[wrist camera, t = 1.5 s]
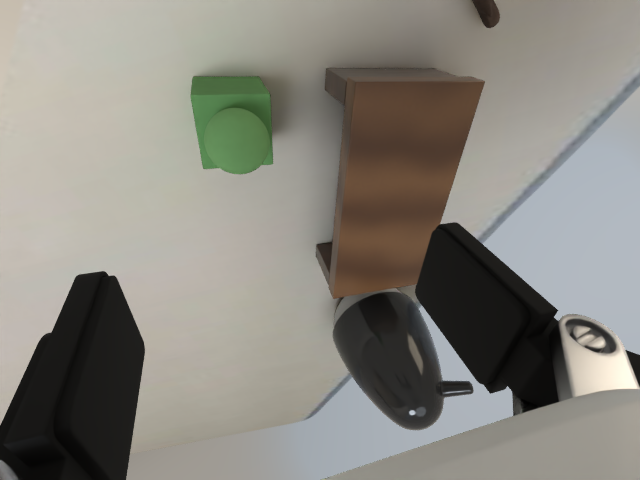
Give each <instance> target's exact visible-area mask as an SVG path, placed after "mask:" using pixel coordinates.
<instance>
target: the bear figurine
mask: <svg viewBox="0 0 640 480" xmlns="http://www.w3.org/2000/svg"><path fill="white" fill-rule="evenodd" d="M472 1H473V3H474V5H475V7H476V9H477V11H478V13H479V15H480V18H481V20H482V22H483V24H484V25H485V26H486V27H487V28H491V27H494V26H495V25H496V24H497V23H498V22H499V19H500V14H499V10H498V8H497V6H496V4H495V2H494V0H472Z"/></svg>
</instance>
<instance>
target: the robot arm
mask: <svg viewBox="0 0 640 480" xmlns="http://www.w3.org/2000/svg"><path fill="white" fill-rule="evenodd" d="M415 293H416V296H417V299H418V300H419V302H420V303H421V304H422V306H423V307H424V308H425V310H426V311H427V313H428V314H429V315H430V316H431V318H432V320H433V321H434V322H435V324H436V325H437V326H438V328H439V329H440V331H441V332H442V333H443V335H444V336H445V337H446V339H447V340H448V342H449V343H450V344H451V346H452V347H453V348H454V350H455V351H456V353H457V354H458V355H459V357H460V358H461V360H462V361H463V362H464V364H465V365H466V366H467V368H468V369H469V370H470V372H471V373H472V375H473V376H474V377H475V379H476V380H477V381H478V382H479V383H480V384H484V386H485V387H486V389H487V390H488V391H489V393H494V392H497V391H501V390H504V389H506V387H507V386H508V387H509V388H510V389H511V391H512V393H513V416H512V417H509V418H506V419H503V420H500V421H497V422H494V423H491V424H488V425H485V426H482V427H479V428H476V429H473V430H469V431H466V432H463V433H460V434H457V435H454V436H451V437H448V438H445V439H442V440H439V441H436V442H433V443H431V444H427V445H424V446H421V447H418V448H415V449H412V450H409V451H406V452H403V453H400V454H397V455H394V456H391V457H388V458H385V459H382V460H379V461H376V462H373V463H370V464H367V465H364V466H361V467H358V468H355V469H352V470H349V471H346V472H343V473H340V474H337V475H334V476H331V477H328V478H325V479H322V480H640V355H638V354H635V353H632V352H629V351H627V350H625V348H624V346H623V344H622V342H621V341H620V339H619V337H618V336H617V335H616V334H615V333H614V332H613V331H612V330H610V329H609V328H608V327H606V326H605V325H603V324H601V323H600V322H598V321H596V320H594V319H591V318H589V317H586V316H582V315H577V314H568V315H565V316H562V318H561V319H560V320H559V321H557V320H556V319H555V318H554V316H555V314H556V313H557V311H558V310H557V309H556V308H555V307H553V306H552V305H551V304H550V303H549V302H548V301H547V300H546V299H544V298H543V297H542V296H541V295H540V294H539V293H538V292H536V291H535V290H534V289H533V288H532V287H531V286H529V285H528V284H527V283H526V282H525V281H524V280H523V279H522V278H520V277H519V276H518V275H517V274H516V273H515V272H514V271H512V270H511V269H510V268H509V267H508V266H507V265H505V264H504V263H503V262H502V261H501V260H500V259H499V258H497V257H496V256H495V255H494V254H493V253H492V252H491V251H489V250H488V249H487V248H486V247H485V246H484V245H483V244H481V243H480V242H479V241H478V240H477V239H476V238H475V237H473V236H472V235H471V234H470V233H469V232H468V231H467V230H465V229H464V228H463V227H462V226H461V225H460V224H458V223H447V224H440V225H438V226H437V227H436V229H435V230H434V231H433V232H432V234H431V237H430V241H429V244H428V248H427V251H426V254H425V258H424V261H423V265H422V268H421V271H420V275H419V278H418V282H417V285H416V289H415ZM144 354H145V347H144V342H143V339H142V337H141V334H140V332H139V330H138V327H137V325H136V323H135V320H134V318H133V315H132V313H131V311H130V308H129V306H128V304H127V301H126V299H125V297H124V294H123V292H122V289H121V287H120V285H119V282H118V280H117V278H116V277H115V276H108V274H107V273H106V272H104V271H102V272H95V273H87V274H80V275H78V276H76V278H75V280H74V282H73V284H72V287H71V289H70V291H69V294H68V296H67V298H66V301H65V303H64V305H63V308H62V310H61V312H60V314H59V317H58V319H57V321H56V324H55V326H54V328H53V331H52V333H47V334H45V335H44V336H43V337H42V338H41V340H40V341H39V343H38V345H37V347H36V349H35V351H34V354H33V356H32V358H31V360H30V362H29V364H28V367H27V369H26V371H25V373H24V375H23V378H22V380H21V382H20V384H19V386H18V388H17V391H16V393H15V395H14V397H13V399H12V401H11V404H10V406H9V408H8V410H7V412H6V415H5V417H4V419H3V421H2V423H1V425H0V480H126V476H127V469H128V462H129V455H130V449H131V442H132V435H133V429H134V422H135V415H136V408H137V402H138V395H139V388H140V382H141V375H142V368H143V361H144Z"/></svg>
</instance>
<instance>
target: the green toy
mask: <svg viewBox="0 0 640 480" xmlns="http://www.w3.org/2000/svg"><path fill="white" fill-rule="evenodd" d="M191 101H192V107H193V113H194V119H195V125H196V130H197V136H198V142H199V148H200V154H201V159H202V165H203V169H212V168H221V169H222V170H224V171H226V172H229V173H233V174H246V173H249V172H252V171H254V170H256V169H257V168H258V167H260V166H261V165H271V164H273V152H272V125H271V99H270V93H269V92H268V90H267V89H266V87H265V86H264V84H263V83H262V81H261V79H260V78H259V77H193V79H192V88H191Z"/></svg>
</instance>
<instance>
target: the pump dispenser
mask: <svg viewBox="0 0 640 480" xmlns="http://www.w3.org/2000/svg"><path fill="white" fill-rule="evenodd" d="M333 340H334V343H335V346H336V348H337V350H338V353H339V354H340V356H341V358H342V360H343V362H344V364H345V365H346V367H347V369H348V371H349V372H350V374H351V375H352V377H353V378H354V380H355V381H356V383H357V384H358V385H359V387H360V388H361V389H362V391H363V392H364V393H365V394H366V395H367V396H368V397H369V399H370V400H371V401H372V402H373V403H374V404H375V405H376V406H377V407H378V408H379V409H380V410H381V411H382V412H383V413H384V414H385V415H386V416H387V417H388V418H390V419H391V420H392V421H393V422H395V423H396V424H398V425H399V426H401V427H403V428H405V429H409V430H422V429H426V428H428V427H430V426H431V425H433V424H434V423H435V422H436V421H437V420H438V418H439V417H440V415H441V412H442V409H443V401H444V398H445V397H450V396H459V395H466V394H472V393H473V386H472V384H471V383H470V382H469V381H443V380H442V375H441V369H440V364H439V359H438V356H437V352H436V349H435V345H434V343H433V340H432V337H431V334H430V332H429V330H428V327H427V325H426V323H425V321H424V319H423V317H422V315H421V313H420V311H419V309H418V307H417V306H416V304H415V303H414V301H413V300H412V299H411V298H410V297H409V296H407V295H405V294H403V293H401V292H400V291H399V290H397V289H395V288H392V289H386V290H380V291H375V292H369V293H363V294H358V295H352V296H346V297H344V298H343V299H342V301H341V302H340V304H339V305H338V307H337V309H336V312H335V316H334V329H333Z"/></svg>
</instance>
